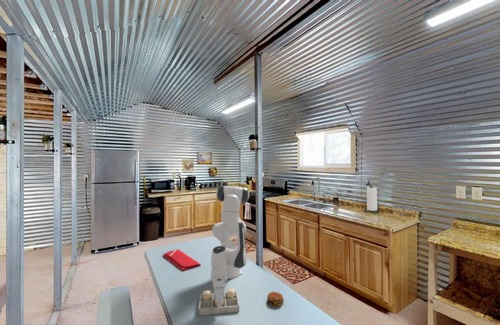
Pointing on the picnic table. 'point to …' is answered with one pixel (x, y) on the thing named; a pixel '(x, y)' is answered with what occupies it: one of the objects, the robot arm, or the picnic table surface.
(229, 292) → the egg
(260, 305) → the picnic table surface
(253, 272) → the picnic table surface
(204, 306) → the carton
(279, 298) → the burger
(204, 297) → the egg
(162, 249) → the picnic table surface
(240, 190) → the robot arm
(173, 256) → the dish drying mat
